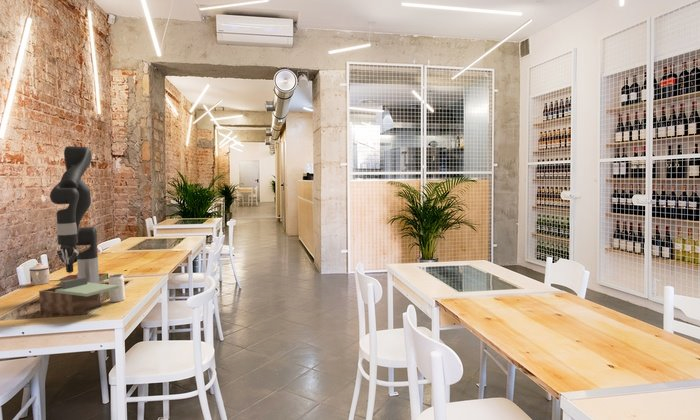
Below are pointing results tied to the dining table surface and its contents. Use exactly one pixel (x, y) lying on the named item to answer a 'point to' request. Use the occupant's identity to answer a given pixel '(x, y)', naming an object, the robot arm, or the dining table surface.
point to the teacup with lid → (39, 274)
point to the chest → (66, 302)
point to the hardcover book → (70, 277)
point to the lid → (84, 287)
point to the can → (118, 293)
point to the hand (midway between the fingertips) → (69, 272)
